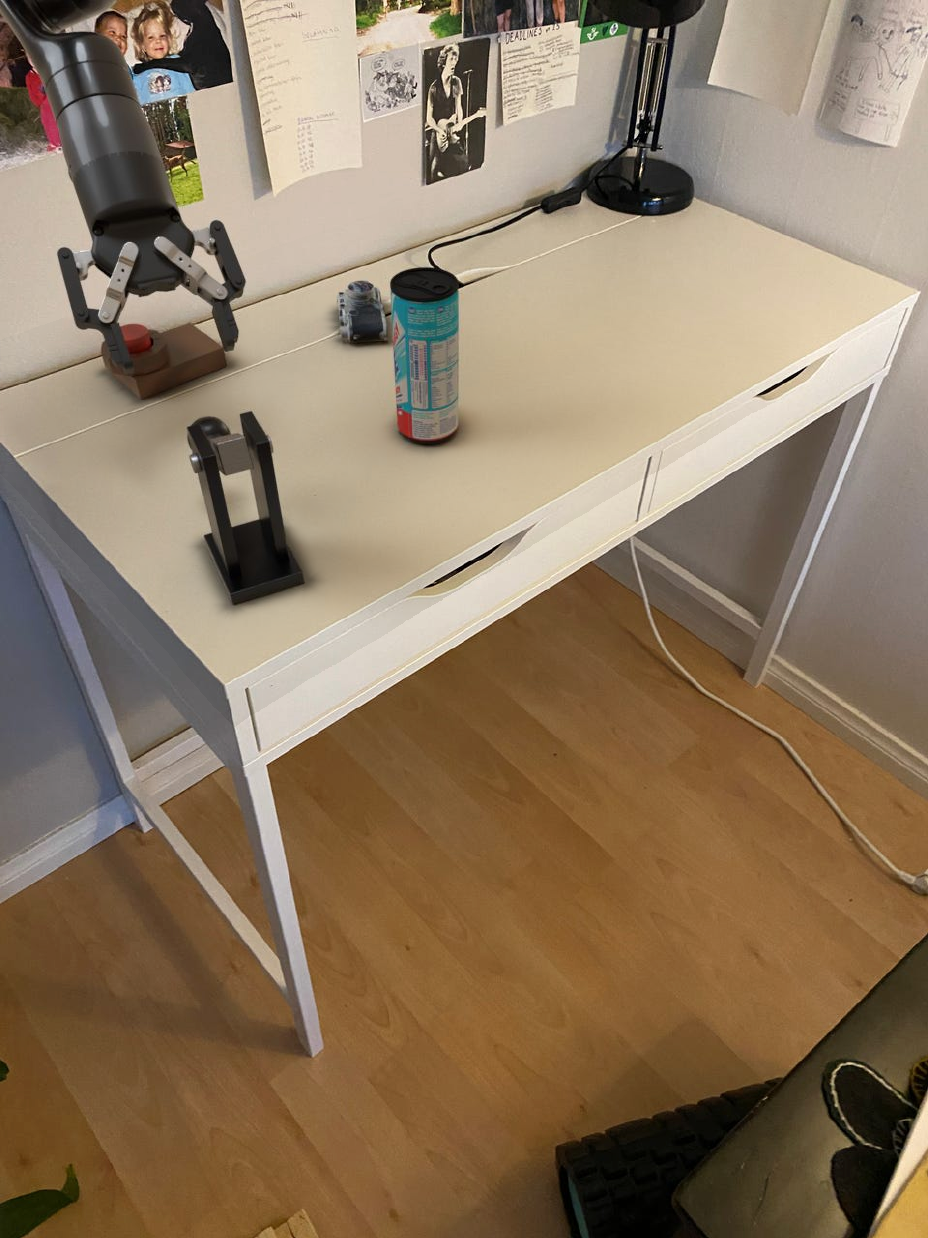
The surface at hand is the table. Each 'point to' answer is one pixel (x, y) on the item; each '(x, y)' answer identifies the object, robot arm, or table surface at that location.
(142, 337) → the button
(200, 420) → the lever
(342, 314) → the camera
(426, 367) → the beverage can
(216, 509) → the bracket
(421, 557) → the table surface
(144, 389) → the button block
